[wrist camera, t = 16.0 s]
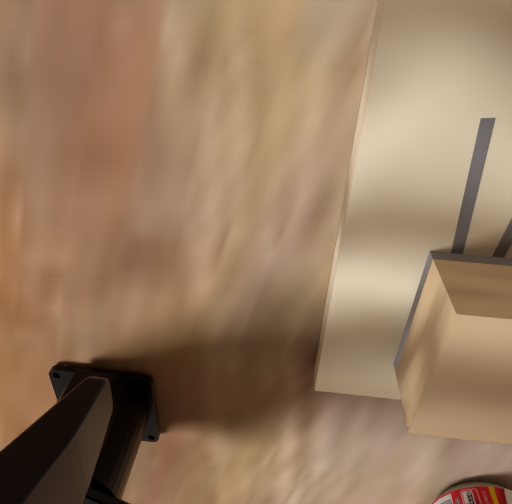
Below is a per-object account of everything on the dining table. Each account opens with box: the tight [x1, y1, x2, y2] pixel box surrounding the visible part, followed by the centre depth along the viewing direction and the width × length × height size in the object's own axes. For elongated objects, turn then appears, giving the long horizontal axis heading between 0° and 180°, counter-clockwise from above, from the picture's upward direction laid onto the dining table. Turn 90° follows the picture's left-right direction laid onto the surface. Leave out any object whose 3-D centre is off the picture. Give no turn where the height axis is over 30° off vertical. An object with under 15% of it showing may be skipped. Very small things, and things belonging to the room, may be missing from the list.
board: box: [314, 0, 512, 400], centre depth 19 cm, size 20×12×2 cm, turn 178°
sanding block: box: [394, 251, 512, 445], centre depth 19 cm, size 7×4×4 cm, turn 178°
